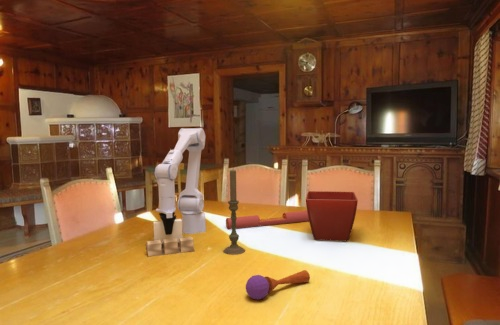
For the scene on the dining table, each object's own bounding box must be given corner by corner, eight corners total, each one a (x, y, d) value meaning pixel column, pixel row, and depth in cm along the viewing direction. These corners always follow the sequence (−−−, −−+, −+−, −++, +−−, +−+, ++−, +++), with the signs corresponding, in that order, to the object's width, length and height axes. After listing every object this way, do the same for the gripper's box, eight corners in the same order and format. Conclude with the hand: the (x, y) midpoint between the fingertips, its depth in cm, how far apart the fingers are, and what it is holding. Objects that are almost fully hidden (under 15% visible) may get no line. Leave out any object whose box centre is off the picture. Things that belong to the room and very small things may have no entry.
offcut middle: (176, 249, 129) (176, 238, 129) (177, 252, 126) (177, 241, 125) (163, 250, 128) (163, 239, 128) (164, 254, 124) (164, 242, 124)
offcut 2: (191, 247, 131) (191, 236, 131) (193, 250, 127) (193, 239, 127) (179, 248, 130) (179, 237, 129) (181, 252, 126) (180, 241, 125)
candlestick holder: (250, 250, 130) (249, 167, 127) (241, 259, 121) (240, 170, 118) (227, 248, 133) (225, 166, 130) (216, 256, 124) (215, 169, 121)
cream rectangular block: (181, 239, 137) (180, 218, 136) (182, 242, 134) (182, 220, 133) (154, 242, 134) (153, 221, 133) (154, 245, 131) (153, 223, 130)
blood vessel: (228, 230, 157) (228, 219, 156) (225, 227, 162) (225, 216, 161) (315, 221, 170) (315, 211, 170) (310, 219, 175) (310, 209, 174)
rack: (188, 242, 140) (188, 236, 140) (194, 253, 127) (194, 247, 127) (145, 247, 135) (145, 240, 135) (147, 259, 122) (147, 252, 122)
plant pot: (307, 229, 157) (307, 190, 155) (353, 231, 153) (354, 191, 152) (305, 242, 138) (305, 198, 137) (357, 245, 134) (358, 200, 133)
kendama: (315, 271, 100) (256, 284, 89) (310, 291, 101) (252, 306, 90) (300, 261, 105) (243, 272, 93) (296, 280, 106) (239, 293, 95)
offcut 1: (160, 251, 128) (160, 239, 127) (161, 254, 124) (161, 243, 123) (147, 252, 126) (147, 241, 126) (148, 256, 122) (147, 244, 122)
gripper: (154, 194, 138) (155, 229, 139) (157, 201, 124) (158, 239, 125) (173, 192, 140) (174, 227, 141) (177, 199, 126) (179, 237, 128)
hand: (168, 233), depth 133 cm, fingers closed on cream rectangular block, 3 cm apart
